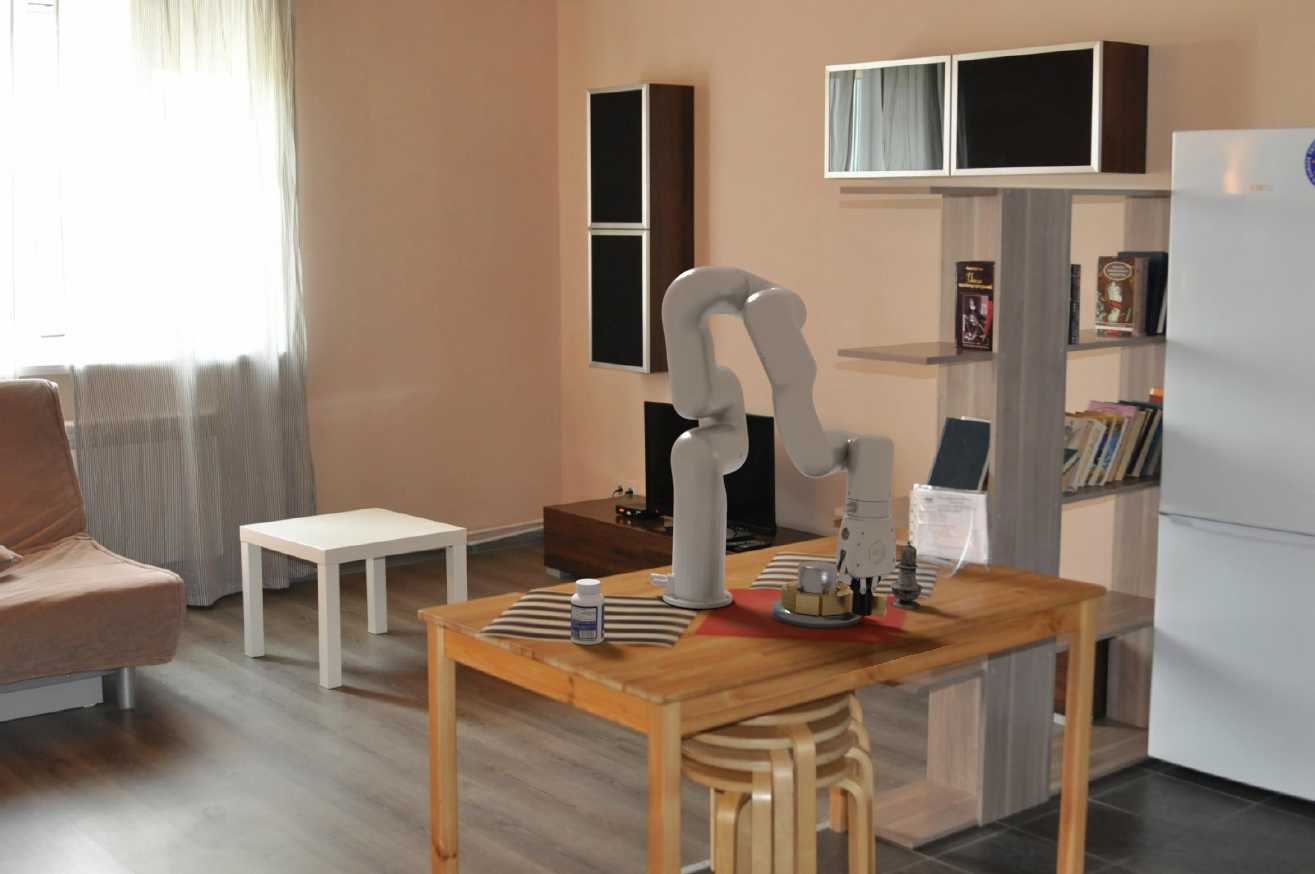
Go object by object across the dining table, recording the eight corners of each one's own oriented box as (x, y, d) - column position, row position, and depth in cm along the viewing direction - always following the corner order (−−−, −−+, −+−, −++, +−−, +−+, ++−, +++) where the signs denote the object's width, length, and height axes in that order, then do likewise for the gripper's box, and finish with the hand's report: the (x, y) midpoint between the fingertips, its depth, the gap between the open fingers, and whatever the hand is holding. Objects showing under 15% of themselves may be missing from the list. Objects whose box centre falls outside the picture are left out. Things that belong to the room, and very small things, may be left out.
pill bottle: (586, 634, 218) (587, 575, 216) (610, 640, 214) (612, 581, 213) (563, 640, 214) (564, 581, 212) (588, 647, 210) (589, 587, 209)
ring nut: (774, 609, 229) (775, 585, 228) (793, 594, 240) (794, 571, 239) (877, 623, 222) (878, 599, 222) (892, 607, 233) (893, 584, 232)
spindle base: (762, 622, 227) (764, 571, 226) (780, 600, 242) (782, 552, 241) (853, 632, 223) (856, 580, 222) (866, 609, 238) (869, 560, 236)
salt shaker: (921, 610, 238) (925, 545, 237) (888, 607, 239) (892, 542, 238) (922, 602, 244) (925, 538, 242) (889, 599, 245) (893, 536, 243)
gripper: (850, 516, 216) (843, 625, 218) (915, 508, 224) (908, 614, 227) (819, 508, 222) (813, 614, 225) (884, 501, 230) (878, 603, 233)
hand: (861, 614), depth 226 cm, fingers closed
